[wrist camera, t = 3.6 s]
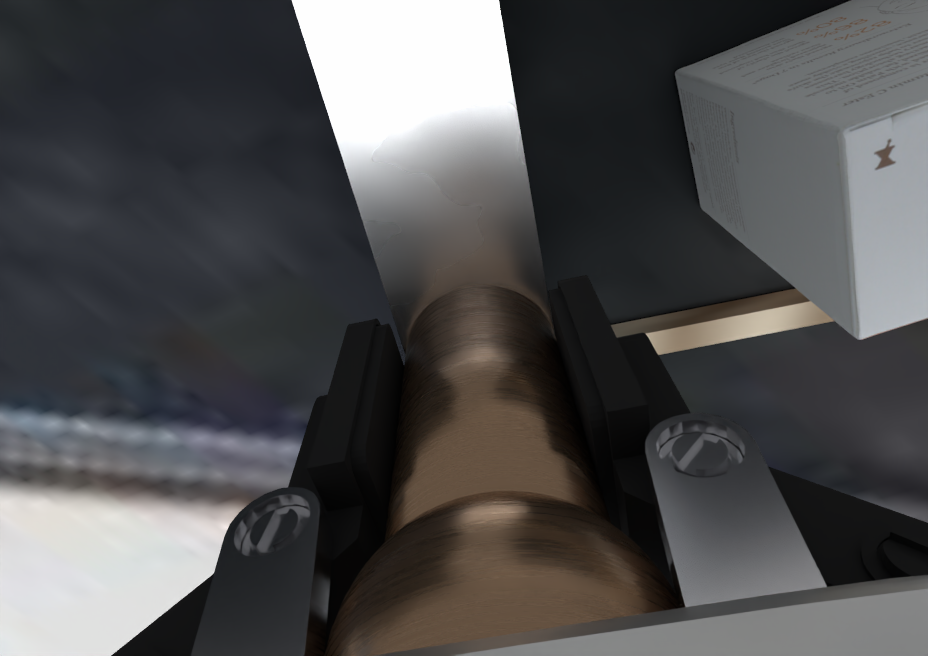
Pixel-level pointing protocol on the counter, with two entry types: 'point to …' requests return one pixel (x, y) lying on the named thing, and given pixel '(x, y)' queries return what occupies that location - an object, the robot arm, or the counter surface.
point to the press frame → (726, 321)
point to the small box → (824, 156)
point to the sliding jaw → (464, 344)
